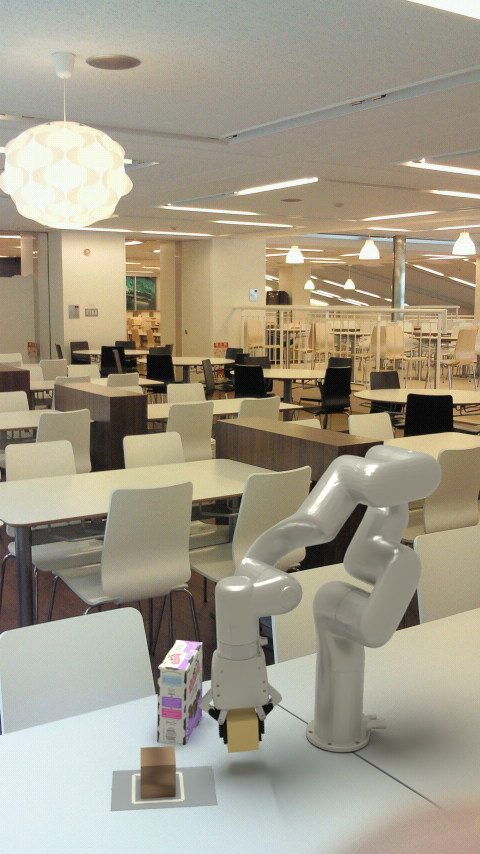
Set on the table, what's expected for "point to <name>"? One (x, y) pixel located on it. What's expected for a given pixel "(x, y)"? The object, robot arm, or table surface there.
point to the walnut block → (158, 772)
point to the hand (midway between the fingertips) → (241, 737)
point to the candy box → (179, 692)
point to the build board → (190, 792)
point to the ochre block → (242, 730)
